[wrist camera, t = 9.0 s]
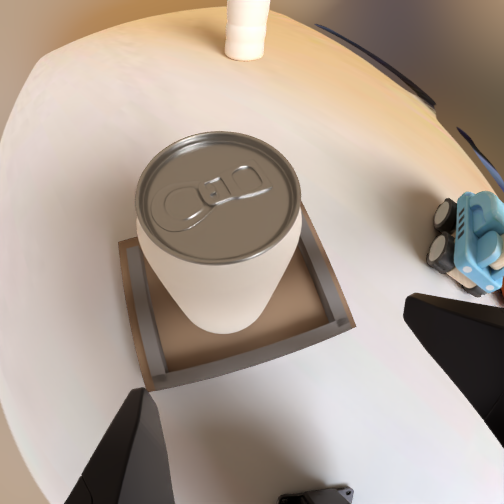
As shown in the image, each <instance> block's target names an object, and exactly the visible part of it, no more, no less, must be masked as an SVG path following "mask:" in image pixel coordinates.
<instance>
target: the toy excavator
mask: <svg viewBox="0 0 504 504" xmlns="http://www.w3.org/2000/svg"><path fill="white" fill-rule="evenodd" d="M434 223H435V226H434V227H435V228H436V229H438V230H439V231H440V232H442V234H441V235H440V236H436V238H435V239H434V241H433V243H432V245H431V247H430V248H431V249H430V252H429V255H428V254H427V263H428V264H429V265H430V266H431V267H433V268H434V269H436V270H437V271H439V272H440V273H441V274H444V273H447V274H448V275H449V276H451V277H452V278H454V279H455V280H456V281H458V282H459V283H461V284H462V285H463V286H464V289H465V291H467V292H468V293H470V294H471V295H473V296H475V297H481V295H482V294H483V295H485V294H486V293H491V292H493V291H496V290H498V289H500V288H501V287H502V281H503V276H504V203H502V201H501V200H500V199H499V198H498V197H497V196H496V195H495V194H493V193H492V192H489V191H482V192H479V193H477V194H474V193H471V192H465V193H464V194H463V195H462V196H460V197H459V198H458V201H457V203H455V202H454V201H453V200H451V199H450V198H446V199H445V201H444V202H443V204H441V205H439V207H438V208H437V210H436V212H435V215H434Z"/></svg>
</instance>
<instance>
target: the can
mask: <svg viewBox="0 0 504 504" xmlns="http://www.w3.org/2000/svg"><path fill="white" fill-rule="evenodd" d="M300 205H301V189H300V184H299V180H298V177H297V175H296V173H295V171H294V169H293V167H292V166H291V164H290V163H289V162H288V160H287V159H286V158H285V157H284V156H283V155H282V154H281V153H280V152H279V151H278V150H276V149H275V148H274V147H272V146H271V145H269V144H267V143H266V142H264V141H262V140H260V139H257V138H255V137H252V136H249V135H245V134H241V133H236V132H226V131H214V132H205V133H199V134H195V135H191V136H188V137H185V138H183V139H181V140H178V141H176V142H174V143H173V144H171V145H169V146H168V147H166V148H165V149H163V150H162V151H161V152H159V153H158V154H157V155H156V156H155V157H154V158H153V159H152V160H151V161H150V163H149V164H148V165H147V166H146V168H145V169H144V171H143V173H142V175H141V177H140V179H139V182H138V185H137V188H136V194H135V208H136V213H137V221H136V227H137V235H138V239H139V243H140V246H141V248H142V251H143V253H144V255H145V257H146V259H147V261H148V262H149V264H150V266H151V267H152V269H153V270H154V272H155V273H156V275H157V276H158V278H159V279H160V281H161V282H162V284H163V285H164V286H165V288H166V289H167V291H168V292H169V293H170V295H171V296H172V298H173V299H174V300H175V302H176V303H177V304H178V306H179V307H180V308H181V310H182V311H183V312H184V313H185V315H186V316H187V317H188V318H189V319H190V320H191V321H192V322H193V323H194V324H195V325H196V326H198V327H199V328H201V329H203V330H206V331H208V332H212V333H217V334H229V333H234V332H238V331H240V330H243V329H245V328H247V327H248V326H250V325H251V324H252V323H253V322H255V321H256V320H257V318H258V317H259V316H260V315H261V313H262V312H263V310H264V308H265V307H266V305H267V303H268V301H269V300H270V298H271V296H272V294H273V292H274V291H275V289H276V287H277V285H278V283H279V281H280V279H281V278H282V276H283V274H284V272H285V270H286V268H287V266H288V264H289V262H290V260H291V258H292V256H293V254H294V251H295V249H296V247H297V244H298V241H299V237H300V233H301V226H302V215H301V208H300Z"/></svg>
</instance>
